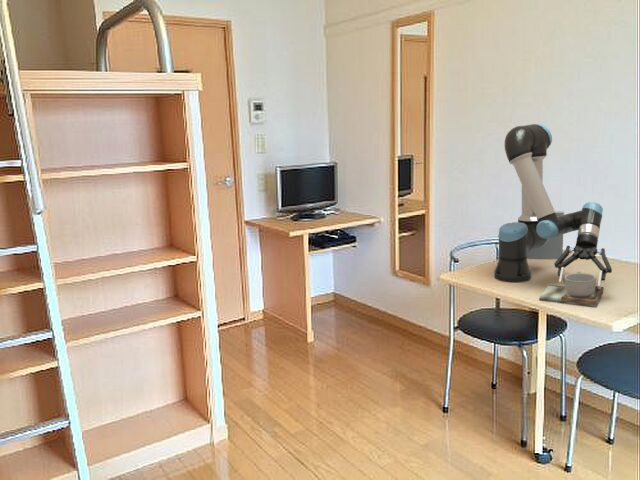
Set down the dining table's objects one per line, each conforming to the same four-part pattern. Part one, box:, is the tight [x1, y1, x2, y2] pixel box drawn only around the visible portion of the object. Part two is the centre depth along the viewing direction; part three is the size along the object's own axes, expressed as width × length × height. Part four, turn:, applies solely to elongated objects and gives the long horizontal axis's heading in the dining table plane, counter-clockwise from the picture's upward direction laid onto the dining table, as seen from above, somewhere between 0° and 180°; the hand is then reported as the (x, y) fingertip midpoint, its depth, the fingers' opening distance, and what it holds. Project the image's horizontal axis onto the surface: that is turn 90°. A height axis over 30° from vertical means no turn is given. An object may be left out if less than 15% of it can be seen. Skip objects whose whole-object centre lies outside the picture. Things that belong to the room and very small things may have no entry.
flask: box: [527, 210, 565, 260], centre depth 272 cm, size 17×5×25 cm, turn 74°
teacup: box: [563, 271, 597, 299], centre depth 219 cm, size 14×11×8 cm
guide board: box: [538, 284, 604, 308], centre depth 221 cm, size 20×18×2 cm
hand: (579, 285), depth 216 cm, fingers open, 13 cm apart
